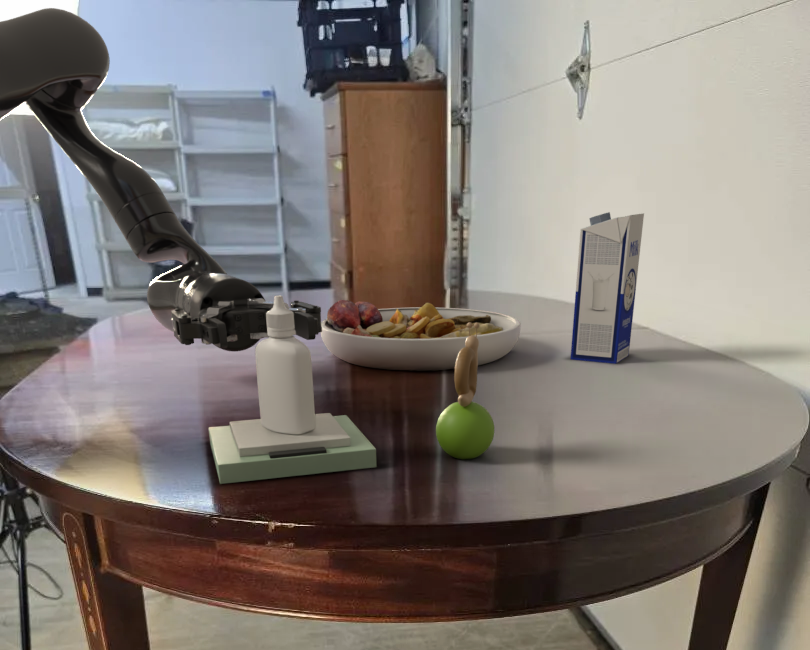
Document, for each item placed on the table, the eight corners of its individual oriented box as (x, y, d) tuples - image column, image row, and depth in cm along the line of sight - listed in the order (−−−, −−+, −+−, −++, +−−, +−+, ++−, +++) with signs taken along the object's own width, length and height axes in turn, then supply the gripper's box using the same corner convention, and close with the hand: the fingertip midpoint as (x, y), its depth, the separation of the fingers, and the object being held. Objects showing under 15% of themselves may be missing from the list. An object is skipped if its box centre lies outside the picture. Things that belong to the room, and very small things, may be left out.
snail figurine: (497, 447, 76) (503, 322, 71) (489, 469, 70) (494, 334, 65) (443, 444, 77) (444, 321, 72) (430, 465, 71) (431, 332, 66)
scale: (220, 486, 67) (216, 455, 66) (210, 446, 77) (207, 419, 76) (376, 469, 70) (376, 440, 69) (347, 433, 81) (346, 407, 80)
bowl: (522, 339, 129) (525, 290, 126) (514, 379, 102) (517, 318, 99) (348, 335, 134) (346, 288, 131) (296, 373, 107) (292, 315, 104)
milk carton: (615, 365, 110) (631, 213, 101) (569, 361, 113) (581, 213, 104) (628, 356, 115) (644, 211, 107) (584, 353, 118) (597, 211, 110)
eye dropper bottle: (302, 418, 76) (293, 291, 71) (319, 433, 71) (311, 298, 66) (258, 423, 74) (246, 294, 69) (273, 439, 70) (261, 301, 65)
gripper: (152, 278, 80) (186, 295, 67) (283, 271, 86) (338, 285, 73) (162, 351, 84) (196, 381, 70) (287, 339, 89) (341, 365, 76)
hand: (268, 332), depth 72 cm, fingers open, 8 cm apart
